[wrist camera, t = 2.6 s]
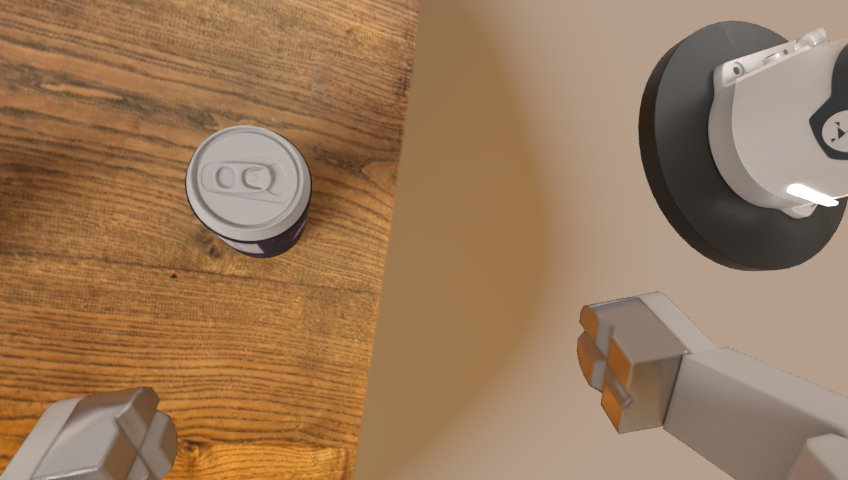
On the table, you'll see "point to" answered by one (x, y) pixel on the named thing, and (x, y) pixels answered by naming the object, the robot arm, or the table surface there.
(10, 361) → the table surface
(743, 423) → the robot arm
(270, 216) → the beverage can
